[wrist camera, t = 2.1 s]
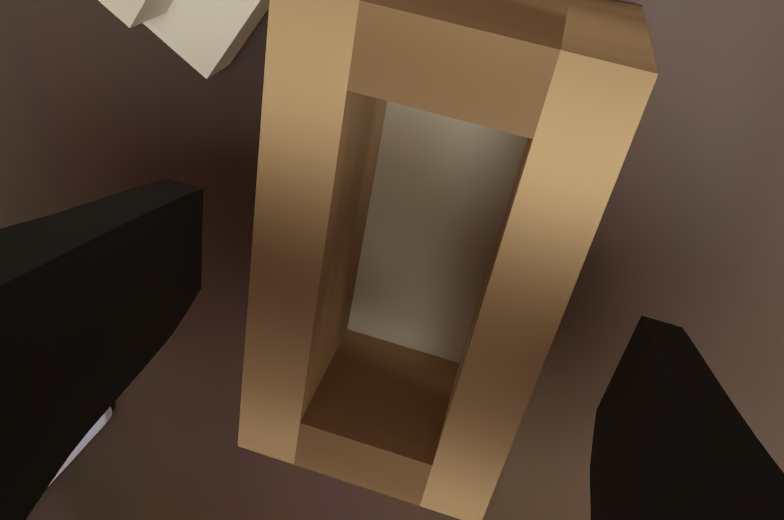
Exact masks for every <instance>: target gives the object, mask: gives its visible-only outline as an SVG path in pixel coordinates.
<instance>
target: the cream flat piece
mask: <svg viewBox="0 0 784 520" xmlns="http://www.w3.org/2000/svg"><path fill="white" fill-rule="evenodd" d="M98 1H99V2H101V3H102V4H103V5H104V6H105V7H106V8H107V9H109V10H110V11H111V12H112V13H113V14H114V15H115V16H117V17H118V18H119V19H120V20H121V21H122V22H123V23H125V24H126V25H127V26H128V27H129V28H131V27H134V26H136V25H138V24H141V23H143V24H144V25H145V26H147V27H148V28H149V29H150V30H151V31H152V32H153V33H155V34H156V35H157V36H158V37H159V38H160V39H161V40H163V41H164V42H165V43H166V44H167V45H168V46H169V47H171V48H172V49H173V50H174V51H175V52H176V53H177V54H178V55H180V56H181V57H182V58H183V59H184V60H185V61H186V62H188V63H189V64H190V65H191V66H192V67H193V68H194V69H196V70H197V71H198V72H199V73H200V74H201V75H202V76H204V77H205V78H206V79H208V78H209V77H211V76H213V75H214V74H216V73H217V72H219V71H220V70H222V69H224V68H225V67H227V66H228V65H230V63H231V62H232V61H233V59H234V58H235V56H236V55H237V53H238V52H239V50H240V49H241V48H242V46H243V45H244V43H245V42H246V40H247V39H248V38H249V36H250V35H251V33H252V32H253V30H254V29H255V27H256V26H257V25H258V23H259V22H260V20H261V19H262V17H263V16H264V15H265V13H266V12H267V10H268V9H269V1H270V0H98Z"/></svg>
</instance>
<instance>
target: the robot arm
mask: <svg viewBox="0 0 784 520" xmlns="http://www.w3.org/2000/svg"><path fill="white" fill-rule="evenodd" d="M202 217H203V189H201V188H198V187H194V186H191V185H187V184H184V183H180V182H177V181H174V180H170V179H168V180H163V181H159V182H155V183H151V184H147V185H144V186H140V187H137V188H134V189H131V190H127V191H124V192H121V193H118V194H115V195H112V196H109V197H106V198H102V199H99V200H96V201H93V202H90V203H87V204H84V205H81V206H77V207H74V208H71V209H68V210H65V211H62V212H59V213H55V214H52V215H49V216H45V217H42V218H38V219H35V220H31V221H27V222H24V223H20V224H17V225H13V226H10V227H6V228H2V229H0V520H26V518H27V517H28V515H29V514H30V512H31V511H32V509H33V508H34V506H35V505H36V503H37V502H38V500H39V499H40V497H41V496H42V495H43V493H44V492H45V490H46V489H47V487H48V486H49V485H50V484H51V483H52V482H53V481H54V480H55V479H56V478H57V476H58V475H59V474H60V473H61V472H62V471H63V470H64V469H65V468H66V467H67V466H68V464H69V463H70V462H71V461H72V460H73V459H74V458H75V457H76V456H77V455H78V453H79V452H80V451H81V450H82V449H83V448H84V447H85V446H86V445H87V444H88V443H89V441H90V440H91V439H92V438H93V437H94V436H95V435H96V434H97V433H98V432H99V431H100V429H101V428H102V427H103V426H104V425H105V424H106V423H107V421H108V420H109V419H110V418H111V416H112V409H111V407H110V406H111V405H112V404H113V403H114V402H115V401H116V399H117V398H118V397H119V396H120V395H121V394H122V392H123V391H124V390H125V389H126V388H127V387H128V386H129V384H130V383H131V382H132V381H133V380H134V379H135V377H136V376H137V375H138V374H139V373H140V372H141V371H142V369H143V368H144V367H145V366H146V365H147V364H148V362H149V361H150V360H151V359H152V358H153V356H154V355H155V354H156V353H157V352H158V351H159V349H160V348H161V347H162V346H163V345H164V343H165V342H166V341H167V340H168V339H169V337H170V336H171V335H172V334H173V332H174V331H175V329H176V328H177V326H178V325H179V323H180V321H181V320H182V318H183V317H184V315H185V314H186V312H187V311H188V309H189V307H190V306H191V304H192V302H193V301H194V299H195V298H196V296H197V294H198V293H199V291H200V289H201V263H202ZM590 498H591V520H784V473H783V472H782V470H781V469H780V468H779V466H778V465H777V464H776V463H775V461H774V460H773V459H772V458H771V456H770V455H769V454H768V452H767V451H766V449H765V448H764V447H763V445H762V444H761V443H760V441H759V440H758V439H757V437H756V436H755V434H754V433H753V432H752V430H751V429H750V427H749V426H748V425H747V423H746V422H745V420H744V419H743V417H742V416H741V415H740V413H739V412H738V410H737V409H736V407H735V406H734V404H733V403H732V401H731V400H730V398H729V397H728V395H727V394H726V392H725V391H724V389H723V388H722V386H721V385H720V383H719V382H718V380H717V379H716V377H715V376H714V374H713V373H712V371H711V370H710V368H709V367H708V365H707V364H706V362H705V360H704V359H703V357H702V356H701V354H700V353H699V351H698V350H697V348H696V347H695V345H694V344H693V342H692V341H691V339H690V338H689V336H688V335H687V333H686V332H685V331H684V329H683V328H682V327H679V326H675V325H672V324H668V323H665V322H661V321H658V320H655V319H651V318H648V317H644V316H641V318H640V320H639V322H638V324H637V327H636V329H635V331H634V333H633V335H632V337H631V339H630V341H629V343H628V345H627V347H626V350H625V352H624V354H623V356H622V358H621V360H620V362H619V364H618V366H617V368H616V371H615V373H614V375H613V377H612V379H611V381H610V383H609V385H608V387H607V389H606V391H605V394H604V396H603V398H602V400H601V402H600V404H599V406H598V408H597V410H596V419H595V427H594V435H593V443H592V453H591V463H590Z"/></svg>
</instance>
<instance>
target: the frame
mask: <svg viewBox="0 0 784 520" xmlns="http://www.w3.org/2000/svg"><path fill="white" fill-rule="evenodd" d="M657 76H658V70H657V66H656V62H655V58H654V54H653V50H652V46H651V42H650V38H649V34H648V29H647V25H646V21H645V17H644V13H643V9H642V5H637V4H633V3H629V2H625V1H620V0H270V1H269V15H268V29H267V43H266V57H265V71H264V85H263V99H262V113H261V127H260V141H259V155H258V169H257V183H256V197H255V210H254V224H253V238H252V252H251V266H250V280H249V294H248V308H247V322H246V336H245V350H244V364H243V378H242V392H241V406H240V420H239V434H238V446H239V447H242V448H245V449H248V450H251V451H254V452H257V453H260V454H263V455H266V456H269V457H272V458H276V459H279V460H282V461H285V462H288V463H291V464H294V465H297V466H300V467H303V468H306V469H309V470H312V471H315V472H318V473H321V474H324V475H327V476H330V477H333V478H336V479H339V480H342V481H345V482H348V483H351V484H354V485H358V486H361V487H364V488H367V489H370V490H373V491H376V492H379V493H382V494H385V495H388V496H391V497H394V498H397V499H400V500H403V501H406V502H409V503H412V504H415V505H418V506H421V507H424V508H427V509H430V510H433V511H436V512H439V513H443V514H446V515H449V516H452V517H455V518H458V519H461V520H482V519H483V516H484V514H485V511H486V509H487V506H488V504H489V501H490V499H491V496H492V494H493V491H494V489H495V486H496V483H497V481H498V478H499V476H500V473H501V471H502V468H503V466H504V463H505V461H506V458H507V456H508V453H509V451H510V448H511V446H512V443H513V440H514V438H515V435H516V433H517V430H518V428H519V425H520V423H521V420H522V418H523V415H524V413H525V410H526V408H527V405H528V402H529V400H530V397H531V395H532V392H533V390H534V387H535V385H536V382H537V380H538V377H539V375H540V372H541V370H542V367H543V365H544V362H545V359H546V357H547V354H548V352H549V349H550V347H551V344H552V342H553V339H554V337H555V334H556V332H557V329H558V327H559V324H560V322H561V319H562V316H563V314H564V311H565V309H566V306H567V304H568V301H569V299H570V296H571V294H572V291H573V289H574V286H575V284H576V281H577V279H578V276H579V273H580V271H581V268H582V266H583V263H584V261H585V258H586V256H587V253H588V251H589V248H590V246H591V243H592V241H593V238H594V236H595V233H596V230H597V228H598V225H599V223H600V220H601V218H602V215H603V213H604V210H605V208H606V205H607V203H608V200H609V198H610V195H611V193H612V190H613V187H614V185H615V182H616V180H617V177H618V175H619V172H620V170H621V167H622V165H623V162H624V160H625V157H626V155H627V152H628V150H629V147H630V144H631V142H632V139H633V137H634V134H635V132H636V129H637V127H638V124H639V122H640V119H641V117H642V114H643V112H644V109H645V107H646V104H647V101H648V99H649V96H650V94H651V91H652V89H653V86H654V84H655V81H656V79H657Z"/></svg>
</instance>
